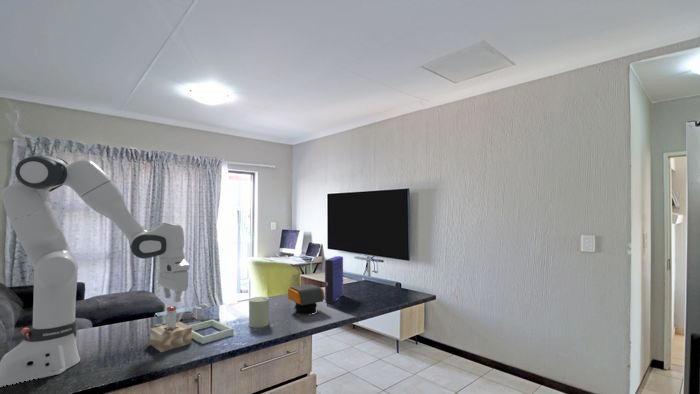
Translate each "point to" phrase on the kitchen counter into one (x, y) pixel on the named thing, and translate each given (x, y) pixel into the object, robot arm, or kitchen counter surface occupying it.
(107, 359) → the kitchen counter surface
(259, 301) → the can
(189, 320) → the pulley system
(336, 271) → the cereal box
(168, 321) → the lock pin
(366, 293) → the kitchen counter surface
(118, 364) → the kitchen counter surface
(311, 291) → the sander
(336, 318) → the kitchen counter surface
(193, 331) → the tray
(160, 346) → the block
